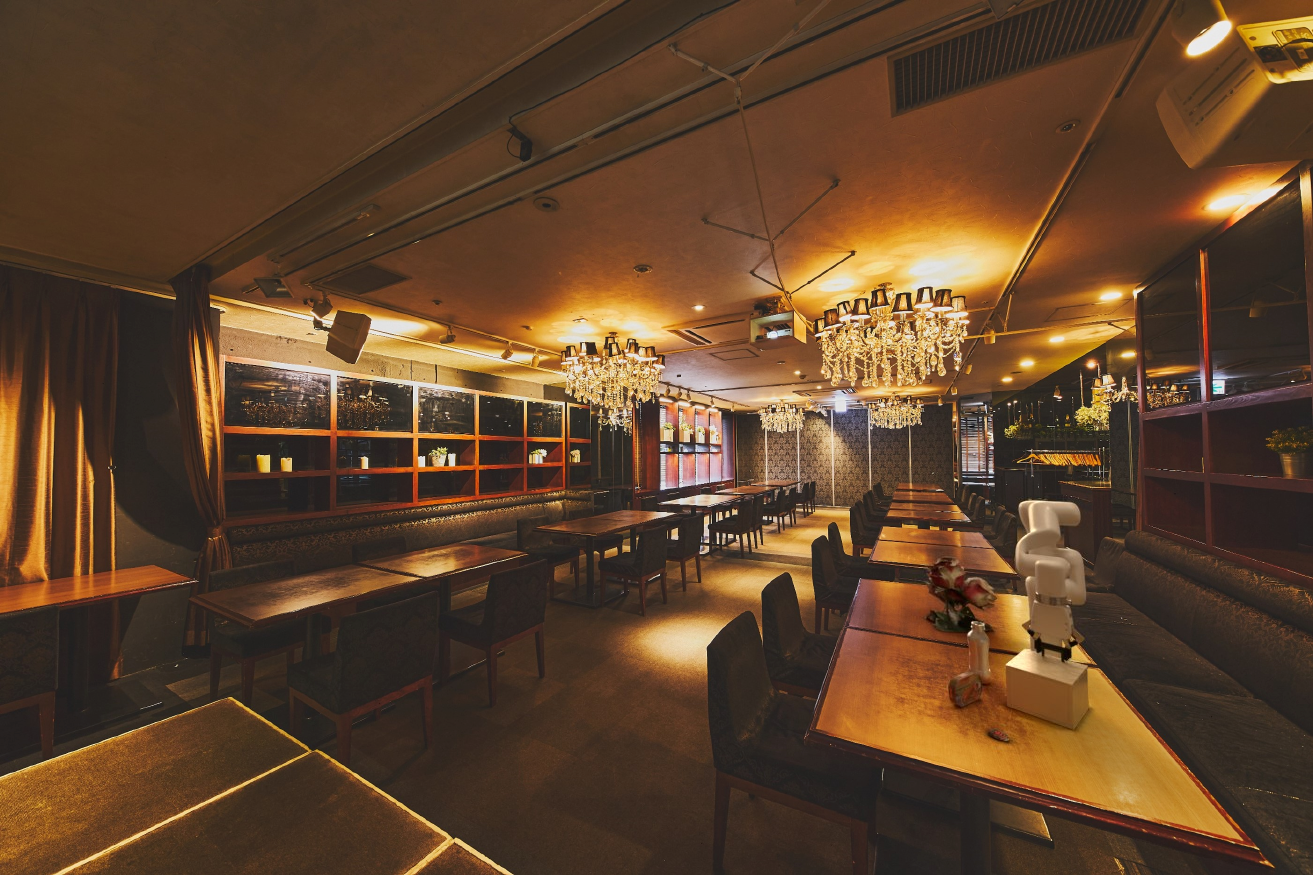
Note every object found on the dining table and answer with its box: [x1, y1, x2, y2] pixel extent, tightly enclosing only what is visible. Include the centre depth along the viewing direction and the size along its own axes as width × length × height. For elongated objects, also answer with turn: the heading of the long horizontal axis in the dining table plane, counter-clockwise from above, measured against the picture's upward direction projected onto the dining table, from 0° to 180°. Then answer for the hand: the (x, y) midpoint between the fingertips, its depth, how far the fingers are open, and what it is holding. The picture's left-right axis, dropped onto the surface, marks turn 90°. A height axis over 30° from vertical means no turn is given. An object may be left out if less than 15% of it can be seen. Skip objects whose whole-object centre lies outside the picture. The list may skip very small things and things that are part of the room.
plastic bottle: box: [966, 622, 992, 685], centre depth 162 cm, size 6×7×20 cm
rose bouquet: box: [923, 555, 998, 633], centre depth 218 cm, size 26×29×30 cm
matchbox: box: [987, 728, 1010, 742], centre depth 132 cm, size 5×5×1 cm
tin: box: [947, 670, 984, 708], centre depth 150 cm, size 15×3×8 cm, turn 117°
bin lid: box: [1005, 642, 1089, 687], centre depth 146 cm, size 19×16×5 cm
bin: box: [1005, 667, 1090, 731], centre depth 146 cm, size 18×16×12 cm
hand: (1052, 655), depth 150 cm, fingers open, 6 cm apart
